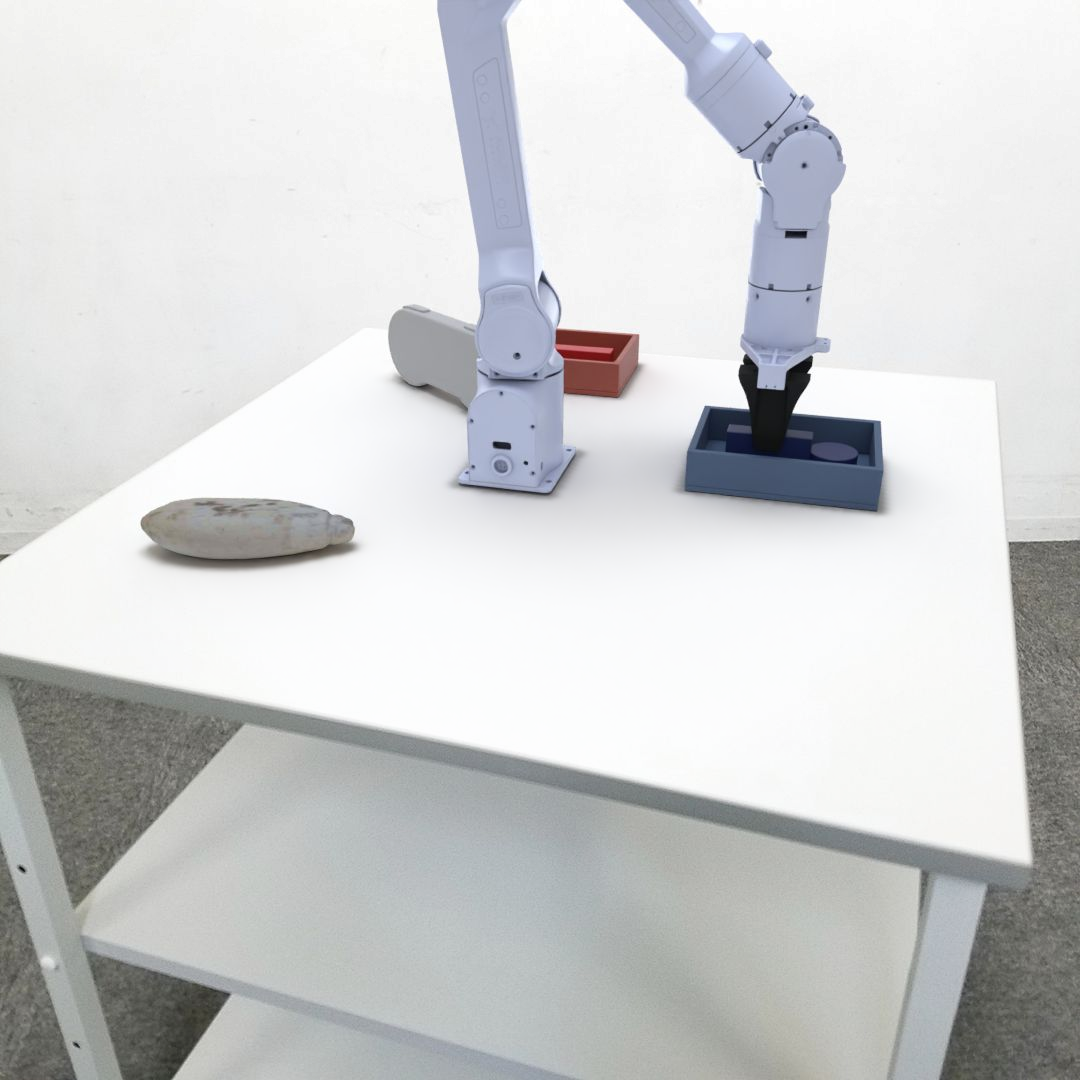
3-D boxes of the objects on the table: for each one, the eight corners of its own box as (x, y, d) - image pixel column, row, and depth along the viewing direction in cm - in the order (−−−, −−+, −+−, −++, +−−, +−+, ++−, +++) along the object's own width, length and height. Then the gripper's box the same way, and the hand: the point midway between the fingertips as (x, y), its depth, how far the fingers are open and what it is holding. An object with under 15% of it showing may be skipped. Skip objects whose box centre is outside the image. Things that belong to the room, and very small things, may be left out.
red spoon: (615, 368, 112) (616, 345, 111) (607, 380, 109) (608, 356, 107) (519, 361, 114) (519, 338, 113) (509, 372, 111) (508, 348, 110)
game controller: (518, 420, 99) (517, 336, 96) (499, 426, 98) (497, 340, 94) (407, 372, 113) (403, 296, 109) (389, 376, 111) (384, 299, 108)
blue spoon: (722, 464, 87) (725, 435, 86) (728, 447, 90) (730, 419, 89) (856, 478, 84) (860, 448, 83) (856, 459, 88) (860, 431, 87)
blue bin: (877, 511, 81) (883, 470, 80) (684, 490, 85) (687, 451, 83) (875, 458, 91) (881, 420, 89) (701, 441, 94) (704, 405, 93)
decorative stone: (351, 564, 74) (347, 522, 72) (131, 570, 73) (122, 526, 71) (360, 526, 79) (357, 486, 78) (155, 531, 78) (147, 490, 77)
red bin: (618, 397, 105) (619, 364, 104) (476, 385, 109) (475, 352, 107) (638, 364, 115) (639, 334, 113) (507, 354, 118) (506, 324, 117)
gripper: (836, 309, 74) (813, 483, 80) (839, 265, 86) (819, 419, 92) (736, 303, 75) (721, 474, 82) (753, 261, 88) (739, 412, 94)
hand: (768, 444), depth 87 cm, fingers closed on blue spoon, 2 cm apart
